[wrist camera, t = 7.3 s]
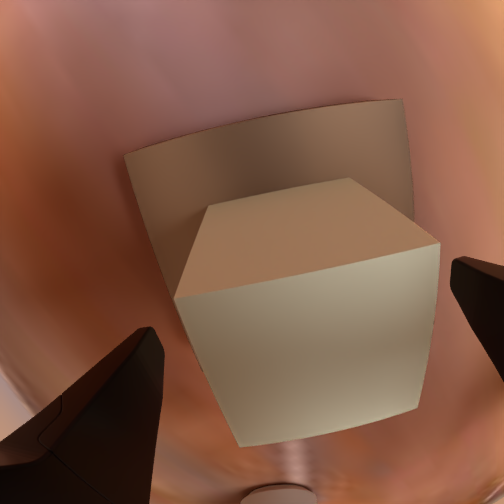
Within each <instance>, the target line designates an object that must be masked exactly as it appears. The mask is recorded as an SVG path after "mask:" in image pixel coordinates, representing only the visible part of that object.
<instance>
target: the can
mask: <svg viewBox="0 0 504 504" xmlns="http://www.w3.org/2000/svg"><path fill="white" fill-rule="evenodd" d="M240 504H317V498H316V495H315V494H314V493H313V492H311V491H308V490H306V489H305V488H304V487H301V486H297V485H272V486H267V487H262V488H259V489H256V490H254V491H252V492H251V493H250V494H249V495H248V496H246V497H245V498H243V499H242V501H241V502H240Z"/></svg>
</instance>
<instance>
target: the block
mask: <svg viewBox="0 0 504 504" xmlns="http://www.w3.org/2000/svg"><path fill="white" fill-rule="evenodd" d="M439 263H440V242H439V241H438V240H436V239H435V238H434V237H432V236H431V235H430V234H429V233H427V232H426V231H425V230H423V229H422V228H421V227H419V226H418V225H417V224H415V223H414V222H413V221H411V220H410V219H409V218H407V217H406V216H405V215H403V214H402V213H400V212H399V211H398V210H396V209H395V208H393V207H392V206H391V205H389V204H388V203H386V202H385V201H384V200H382V199H381V198H379V197H378V196H376V195H375V194H373V193H372V192H371V191H369V190H368V189H366V188H365V187H363V186H362V185H360V184H359V183H357V182H356V181H354V180H353V179H351V178H343V179H337V180H332V181H326V182H321V183H315V184H310V185H304V186H299V187H294V188H289V189H284V190H279V191H274V192H269V193H264V194H259V195H255V196H250V197H245V198H241V199H236V200H231V201H227V202H222V203H218V204H214V205H209V206H208V208H207V210H206V213H205V215H204V218H203V221H202V223H201V226H200V228H199V231H198V234H197V236H196V239H195V241H194V244H193V247H192V249H191V252H190V255H189V257H188V260H187V263H186V266H185V268H184V271H183V274H182V277H181V279H180V282H179V285H178V288H177V291H176V293H175V296H174V301H175V304H176V306H177V309H178V311H179V314H180V317H181V319H182V322H183V324H184V327H185V329H186V331H187V334H188V336H189V339H190V341H191V344H192V346H193V348H194V351H195V353H196V355H197V358H198V360H199V362H200V365H201V367H202V369H203V372H204V374H205V376H206V378H207V381H208V383H209V385H210V387H211V389H212V392H213V394H214V396H215V398H216V400H217V402H218V405H219V407H220V409H221V411H222V413H223V415H224V417H225V419H226V421H227V423H228V425H229V427H230V430H231V432H232V434H233V436H234V438H235V440H236V442H237V444H238V445H239V447H248V446H257V445H265V444H272V443H279V442H285V441H291V440H297V439H302V438H308V437H313V436H318V435H323V434H327V433H332V432H336V431H341V430H345V429H349V428H353V427H357V426H361V425H364V424H368V423H372V422H375V421H379V420H382V419H385V418H389V417H392V416H395V415H398V414H401V413H404V412H407V411H410V410H413V409H416V408H418V404H419V399H420V395H421V391H422V386H423V382H424V377H425V372H426V367H427V362H428V356H429V351H430V345H431V338H432V332H433V325H434V317H435V309H436V300H437V290H438V278H439Z"/></svg>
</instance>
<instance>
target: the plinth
mask: <svg viewBox="0 0 504 504" xmlns="http://www.w3.org/2000/svg"><path fill="white" fill-rule="evenodd" d="M123 156H124V160H125V163H126V167H127V170H128V174H129V177H130V180H131V184H132V187H133V190H134V193H135V197H136V200H137V203H138V206H139V209H140V212H141V215H142V218H143V221H144V224H145V227H146V230H147V233H148V236H149V239H150V242H151V245H152V248H153V251H154V253H155V256H156V259H157V262H158V264H159V267H160V270H161V273H162V275H163V278H164V281H165V283H166V286H167V288H168V291H169V294H170V296H171V299H172V301H173V304H174V306H175V309H176V311H177V314H178V316H179V319H180V321H181V324H182V326H183V329H184V331H185V333H186V336H187V338H188V340H189V343H190V345H191V347H192V350H193V352H194V354H195V357H196V359H197V361H198V363H199V366H200V368H201V370H202V372H203V369H202V367H201V365H200V362H199V360H198V358H197V355H196V353H195V351H194V348H193V346H192V344H191V341H190V339H189V336H188V334H187V331H186V329H185V327H184V324H183V322H182V319H181V317H180V314H179V311H178V309H177V306H176V304H175V301H174V296H175V293H176V291H177V288H178V285H179V282H180V279H181V277H182V274H183V271H184V268H185V266H186V263H187V260H188V257H189V255H190V252H191V249H192V247H193V244H194V241H195V239H196V236H197V234H198V231H199V228H200V226H201V223H202V221H203V218H204V215H205V213H206V210H207V208H208V206H209V205H214V204H218V203H222V202H227V201H231V200H236V199H241V198H245V197H250V196H255V195H259V194H264V193H269V192H274V191H279V190H284V189H289V188H294V187H299V186H304V185H310V184H315V183H321V182H326V181H332V180H337V179H343V178H351V179H353V180H354V181H356V182H357V183H359V184H360V185H362V186H363V187H365V188H366V189H368V190H369V191H371V192H372V193H373V194H375V195H376V196H378V197H379V198H381V199H382V200H384V201H385V202H386V203H388V204H389V205H391V206H392V207H393V208H395V209H396V210H398V211H399V212H400V213H402V214H403V215H405V216H406V217H407V218H409V219H410V220H411V221H413V222H414V200H413V183H412V170H411V159H410V150H409V141H408V133H407V125H406V118H405V111H404V105H403V99H387V100H371V101H361V102H352V103H344V104H336V105H329V106H322V107H315V108H308V109H302V110H296V111H290V112H285V113H279V114H274V115H269V116H263V117H259V118H254V119H249V120H244V121H240V122H235V123H231V124H227V125H222V126H218V127H214V128H210V129H206V130H202V131H198V132H195V133H191V134H187V135H184V136H180V137H177V138H173V139H170V140H166V141H163V142H159V143H156V144H153V145H150V146H146V147H143V148H141V149H138V150H135V151H133V152H130V153H127V154H125V155H123Z"/></svg>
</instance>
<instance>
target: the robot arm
mask: <svg viewBox="0 0 504 504" xmlns="http://www.w3.org/2000/svg"><path fill="white" fill-rule="evenodd" d="M450 287H451V290H452V293H453V294H454V296H455V298H456V300H457V302H458V304H459V305H460V307H461V309H462V311H463V313H464V315H465V317H466V319H467V321H468V323H469V324H470V326H471V328H472V330H473V331H474V333H475V335H476V336H477V338H478V339H479V341H480V343H481V344H482V346H483V347H484V349H485V351H486V352H487V354H488V356H489V357H490V359H491V361H492V362H493V364H494V366H495V368H496V369H497V371H498V373H499V375H500V376H501V378H502V380H503V382H504V266H501V265H497V264H493V263H489V262H485V261H482V260H478V259H474V258H470V257H466V256H462V257H459V258H456V259H454V260H453V261H452V265H451V277H450ZM164 358H165V354H164V349H163V346H162V344H161V342H160V340H159V338H158V336H157V334H156V332H155V330H154V329H153V328H152V327H143V328H139V329H137V330H136V331H135V332H134V333H133V334H131V335H130V336H129V337H128V338H127V339H125V340H124V341H123V342H122V343H121V344H120V345H118V346H117V347H116V348H115V349H114V350H112V351H111V352H110V353H109V354H108V355H106V356H105V357H104V358H103V359H102V360H101V361H99V362H98V363H97V364H96V365H95V366H94V367H92V368H91V369H90V370H89V371H88V372H86V373H85V374H84V375H83V376H82V377H81V378H79V379H78V380H77V381H76V382H75V383H74V384H72V385H71V386H70V387H69V388H68V389H67V390H65V391H64V392H63V393H62V395H59V396H58V397H57V398H56V399H55V400H54V401H53V402H51V403H50V404H49V405H48V406H47V407H45V408H44V409H43V410H42V411H41V412H39V413H38V414H37V415H35V416H34V417H33V418H31V419H30V420H29V421H27V422H26V423H25V424H23V425H22V426H21V427H19V428H18V429H17V430H15V431H14V432H13V433H11V434H10V435H9V436H7V437H6V438H5V439H3V440H2V441H0V504H149V500H150V491H151V481H152V473H153V464H154V456H155V448H156V441H157V434H158V426H159V420H160V413H161V406H162V399H163V379H164Z"/></svg>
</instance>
